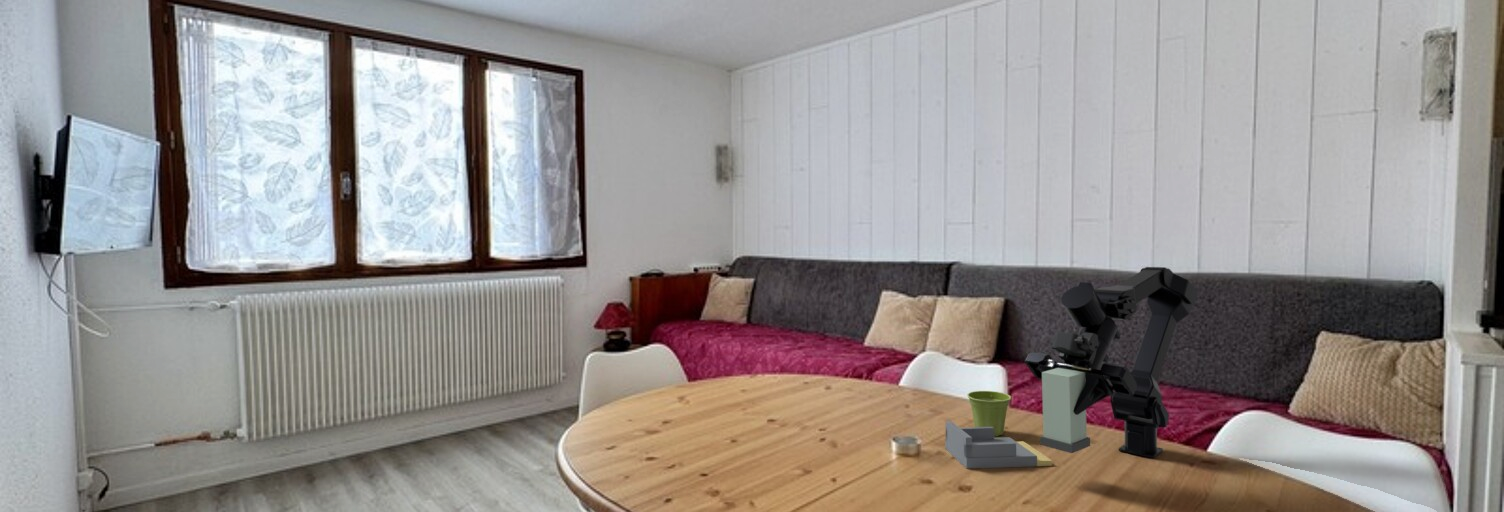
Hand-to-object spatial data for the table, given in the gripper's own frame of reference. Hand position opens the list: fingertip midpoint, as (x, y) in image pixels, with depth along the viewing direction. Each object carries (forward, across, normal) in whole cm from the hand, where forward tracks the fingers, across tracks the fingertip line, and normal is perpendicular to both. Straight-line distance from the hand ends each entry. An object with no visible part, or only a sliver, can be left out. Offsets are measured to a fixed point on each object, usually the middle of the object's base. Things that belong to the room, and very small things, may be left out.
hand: (1060, 409), depth 116 cm
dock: (+8, -16, +11) cm, 21 cm away
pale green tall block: (+4, 0, +6) cm, 7 cm away
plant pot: (-1, -26, +20) cm, 33 cm away
